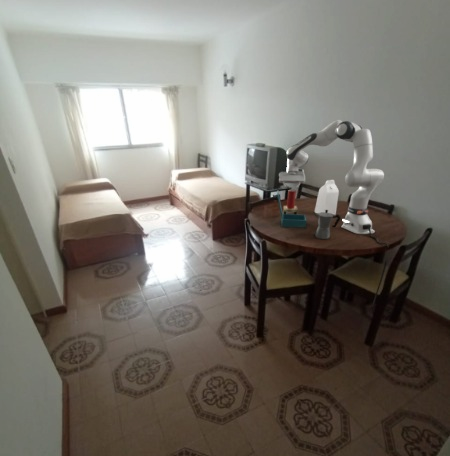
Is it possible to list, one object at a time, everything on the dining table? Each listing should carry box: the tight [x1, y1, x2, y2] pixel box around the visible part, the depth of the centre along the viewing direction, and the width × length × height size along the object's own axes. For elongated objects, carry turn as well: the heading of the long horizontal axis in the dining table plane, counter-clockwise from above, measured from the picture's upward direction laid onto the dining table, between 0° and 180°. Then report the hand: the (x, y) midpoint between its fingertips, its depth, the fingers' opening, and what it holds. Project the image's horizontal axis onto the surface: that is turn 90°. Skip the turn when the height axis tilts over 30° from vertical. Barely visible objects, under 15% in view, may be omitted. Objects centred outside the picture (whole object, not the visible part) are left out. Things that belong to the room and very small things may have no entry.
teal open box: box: [281, 213, 307, 228], centre depth 199 cm, size 17×13×6 cm
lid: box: [271, 190, 284, 220], centre depth 195 cm, size 17×13×5 cm
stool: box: [283, 205, 299, 214], centre depth 212 cm, size 10×10×8 cm
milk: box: [314, 179, 340, 215], centre depth 216 cm, size 12×12×26 cm
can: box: [286, 189, 297, 209], centre depth 207 cm, size 6×6×13 cm
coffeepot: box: [314, 210, 341, 240], centre depth 175 cm, size 15×9×18 cm, turn 68°
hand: (291, 187), depth 214 cm, fingers open, 8 cm apart
